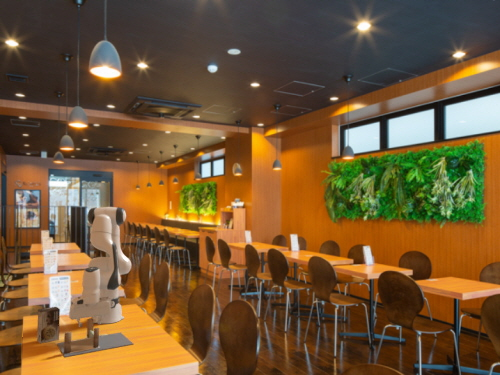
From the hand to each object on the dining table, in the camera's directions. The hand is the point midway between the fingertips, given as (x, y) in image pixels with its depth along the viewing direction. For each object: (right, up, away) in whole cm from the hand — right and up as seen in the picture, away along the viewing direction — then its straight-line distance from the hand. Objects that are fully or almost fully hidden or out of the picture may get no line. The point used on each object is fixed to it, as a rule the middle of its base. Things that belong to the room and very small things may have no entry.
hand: (90, 325), depth 203 cm
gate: (+3, -7, -5) cm, 9 cm away
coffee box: (-22, -8, -1) cm, 23 cm away
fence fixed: (+2, -6, -16) cm, 17 cm away
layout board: (+5, -7, -7) cm, 11 cm away
